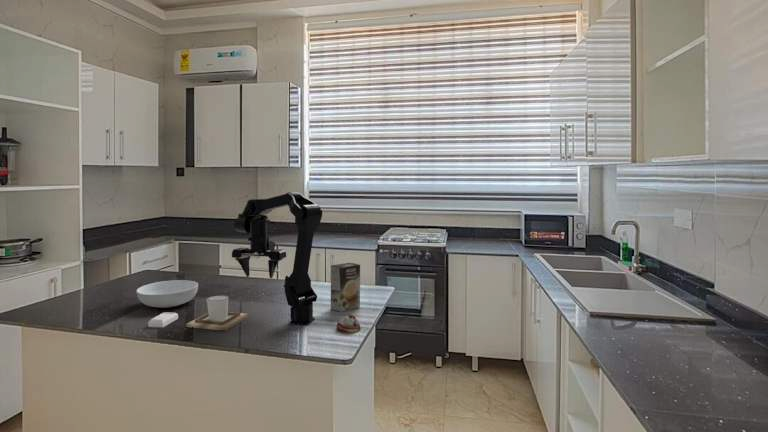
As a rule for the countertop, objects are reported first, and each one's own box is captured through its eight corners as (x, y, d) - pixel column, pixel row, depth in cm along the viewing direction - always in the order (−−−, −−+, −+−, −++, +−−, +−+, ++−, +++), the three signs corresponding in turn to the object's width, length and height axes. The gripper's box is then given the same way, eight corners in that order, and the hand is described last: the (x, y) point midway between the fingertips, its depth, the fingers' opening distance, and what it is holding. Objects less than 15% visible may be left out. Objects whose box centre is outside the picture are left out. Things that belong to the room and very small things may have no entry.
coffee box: (341, 312, 157) (341, 268, 156) (330, 308, 162) (329, 265, 160) (360, 307, 164) (360, 264, 162) (349, 303, 168) (349, 261, 167)
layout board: (248, 316, 152) (248, 311, 152) (224, 330, 139) (224, 325, 138) (212, 313, 156) (212, 308, 155) (186, 326, 142) (185, 321, 142)
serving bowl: (128, 304, 166) (127, 286, 166) (185, 294, 181) (184, 277, 181) (149, 316, 152) (148, 297, 151) (208, 304, 167) (208, 286, 167)
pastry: (361, 333, 137) (361, 317, 137) (337, 334, 136) (337, 318, 136) (359, 324, 145) (359, 309, 145) (336, 325, 144) (335, 310, 144)
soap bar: (148, 328, 142) (147, 320, 142) (164, 319, 151) (164, 311, 151) (162, 328, 142) (162, 320, 141) (178, 319, 151) (177, 311, 150)
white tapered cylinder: (222, 313, 152) (221, 293, 151) (233, 318, 147) (232, 297, 147) (203, 318, 146) (202, 298, 146) (214, 323, 142) (213, 302, 141)
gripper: (292, 232, 163) (293, 273, 164) (247, 230, 167) (248, 271, 169) (278, 236, 152) (279, 280, 154) (230, 234, 157) (231, 277, 158)
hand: (259, 277), depth 159 cm, fingers open, 9 cm apart
